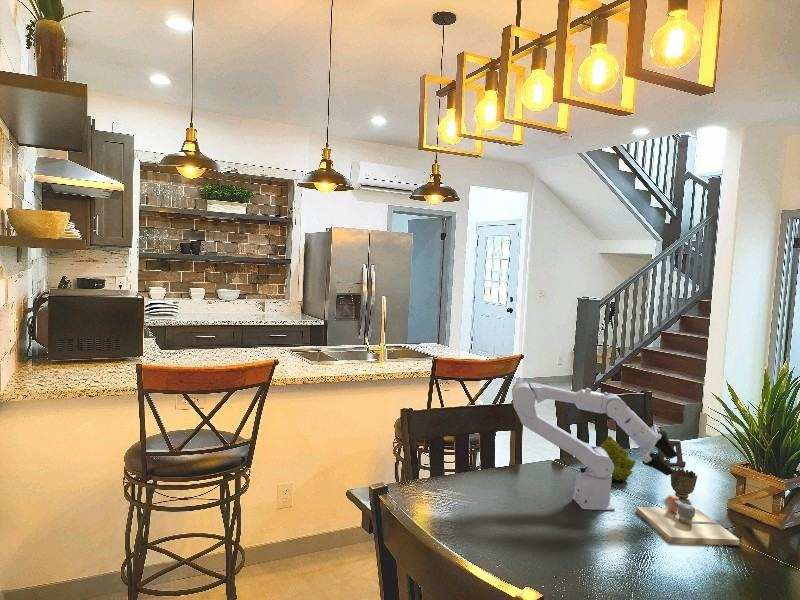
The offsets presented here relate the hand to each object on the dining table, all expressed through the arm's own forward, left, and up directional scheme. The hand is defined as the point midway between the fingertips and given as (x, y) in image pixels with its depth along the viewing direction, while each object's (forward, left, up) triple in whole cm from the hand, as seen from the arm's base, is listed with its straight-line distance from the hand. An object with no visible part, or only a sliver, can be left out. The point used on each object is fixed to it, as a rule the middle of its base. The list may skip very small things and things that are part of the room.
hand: (672, 465), depth 161 cm
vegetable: (-5, +27, -14) cm, 31 cm away
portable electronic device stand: (+24, +44, -14) cm, 52 cm away
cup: (+11, +12, -14) cm, 22 cm away
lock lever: (0, -6, -12) cm, 13 cm away
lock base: (0, -9, -14) cm, 16 cm away
